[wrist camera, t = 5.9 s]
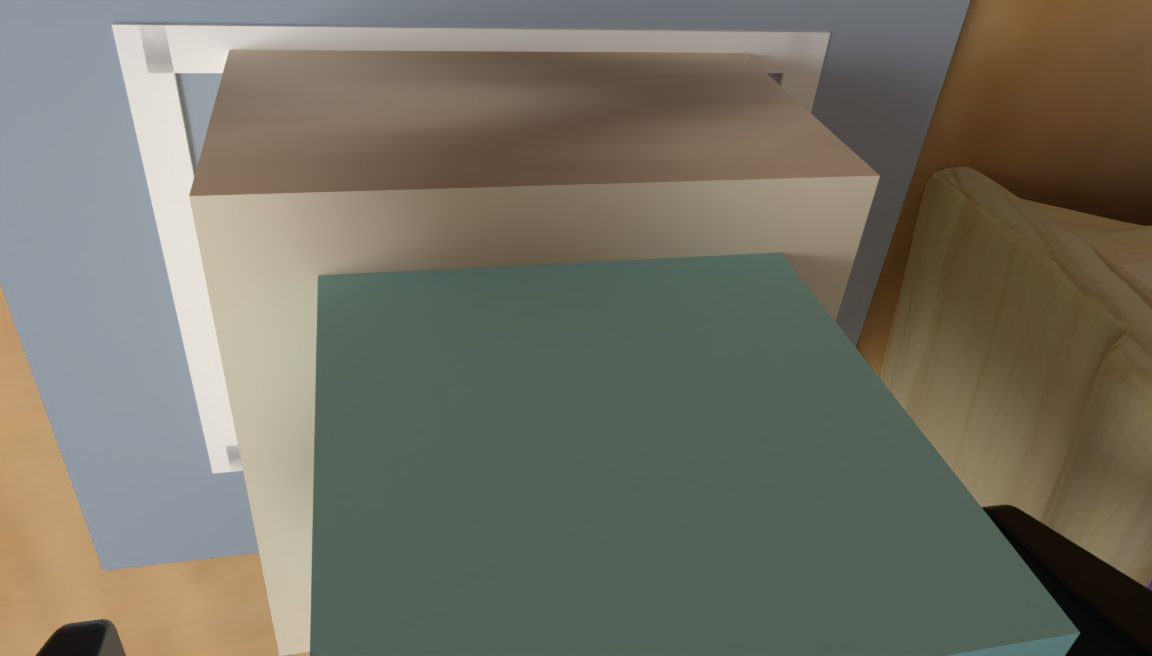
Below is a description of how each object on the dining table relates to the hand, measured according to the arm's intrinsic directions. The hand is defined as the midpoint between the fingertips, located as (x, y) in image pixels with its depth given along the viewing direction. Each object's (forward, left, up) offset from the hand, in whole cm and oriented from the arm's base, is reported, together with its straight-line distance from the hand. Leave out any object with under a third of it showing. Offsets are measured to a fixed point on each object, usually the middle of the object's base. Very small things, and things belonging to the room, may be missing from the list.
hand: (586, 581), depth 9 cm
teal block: (0, 0, -2) cm, 2 cm away
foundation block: (0, 0, -6) cm, 6 cm away
